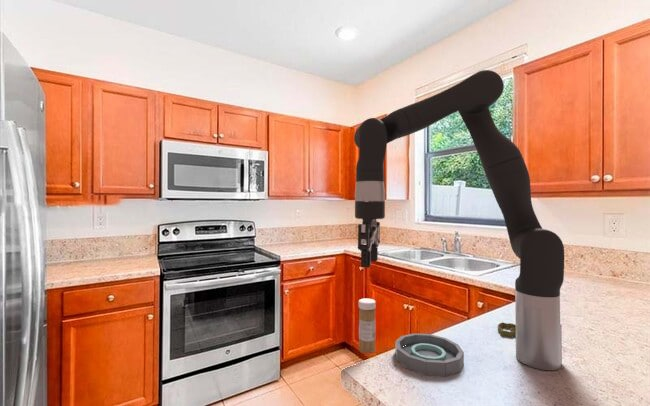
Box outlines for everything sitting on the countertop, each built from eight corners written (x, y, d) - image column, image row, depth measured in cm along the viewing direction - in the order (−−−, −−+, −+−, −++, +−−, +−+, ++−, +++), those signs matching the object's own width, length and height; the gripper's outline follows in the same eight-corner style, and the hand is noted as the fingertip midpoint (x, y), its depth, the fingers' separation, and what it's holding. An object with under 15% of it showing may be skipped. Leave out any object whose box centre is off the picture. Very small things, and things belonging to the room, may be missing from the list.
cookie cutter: (533, 348, 85) (533, 341, 85) (490, 333, 95) (490, 327, 95) (560, 333, 95) (560, 327, 95) (518, 321, 105) (518, 315, 105)
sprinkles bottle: (365, 345, 86) (365, 296, 86) (379, 350, 83) (378, 300, 83) (355, 350, 83) (355, 300, 83) (369, 356, 80) (369, 304, 80)
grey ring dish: (430, 340, 89) (430, 330, 89) (477, 367, 74) (477, 354, 74) (383, 350, 83) (383, 339, 83) (425, 381, 68) (425, 368, 68)
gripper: (362, 200, 86) (362, 258, 86) (347, 199, 73) (347, 268, 73) (389, 200, 83) (389, 260, 83) (379, 199, 70) (379, 270, 70)
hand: (369, 264), depth 78 cm, fingers open, 8 cm apart
